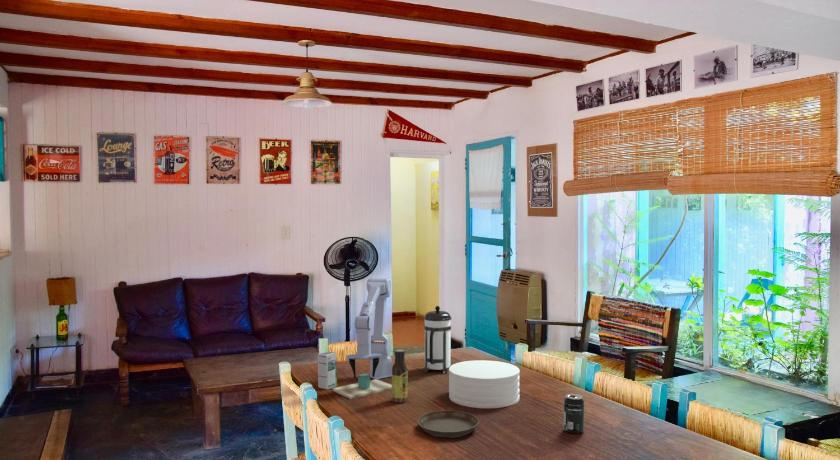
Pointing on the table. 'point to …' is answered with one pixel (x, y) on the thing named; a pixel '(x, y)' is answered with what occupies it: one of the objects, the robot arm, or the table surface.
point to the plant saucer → (448, 423)
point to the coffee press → (437, 340)
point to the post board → (355, 392)
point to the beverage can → (573, 413)
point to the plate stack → (484, 384)
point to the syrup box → (327, 370)
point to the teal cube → (363, 381)
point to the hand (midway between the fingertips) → (364, 376)
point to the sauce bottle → (399, 378)
